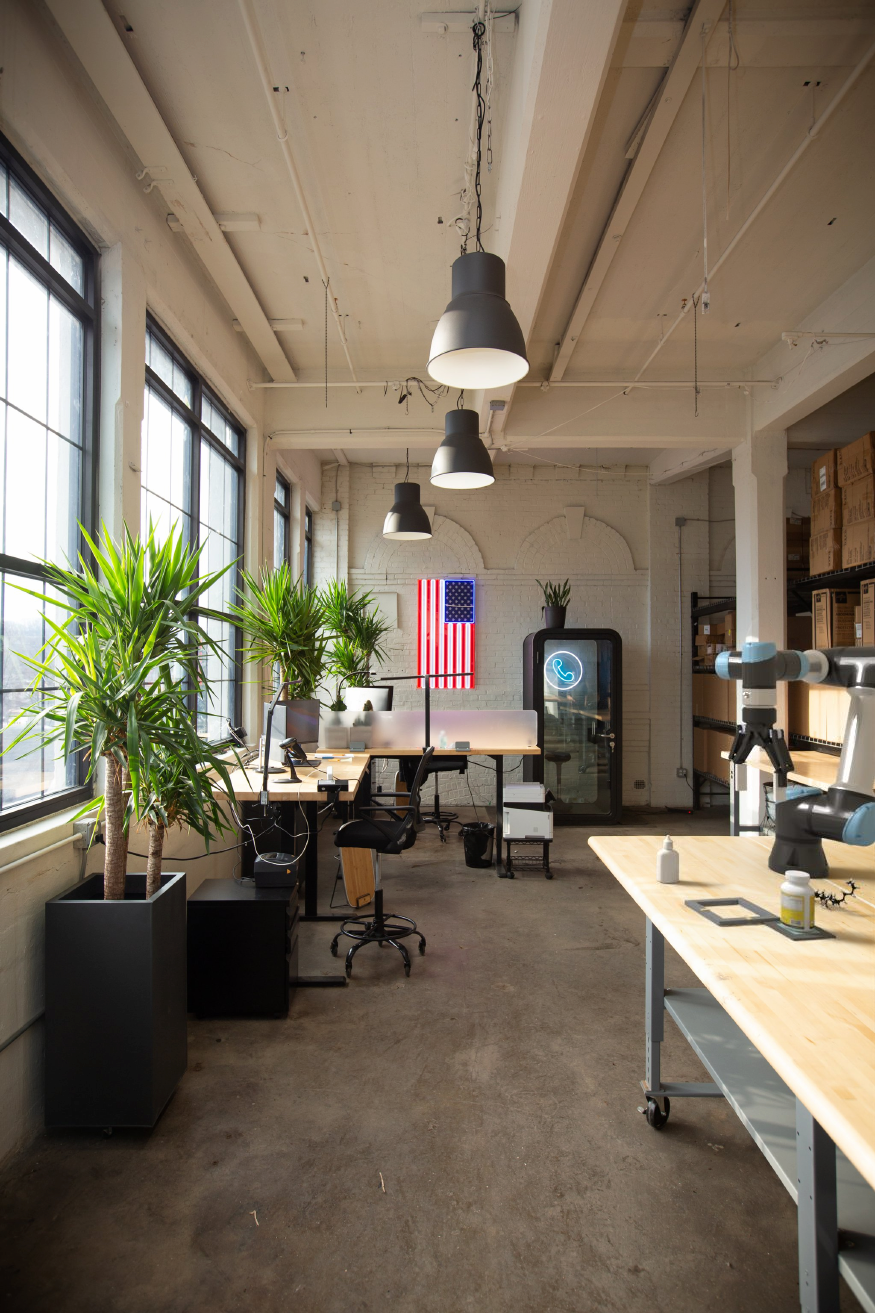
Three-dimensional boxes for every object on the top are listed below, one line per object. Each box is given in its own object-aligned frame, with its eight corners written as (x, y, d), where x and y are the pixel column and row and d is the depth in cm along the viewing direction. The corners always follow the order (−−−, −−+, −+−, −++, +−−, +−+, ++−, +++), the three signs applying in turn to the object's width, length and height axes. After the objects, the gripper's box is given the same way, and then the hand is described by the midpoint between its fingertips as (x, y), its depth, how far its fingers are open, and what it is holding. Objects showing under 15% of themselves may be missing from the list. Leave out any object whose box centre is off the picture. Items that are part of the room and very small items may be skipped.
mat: (802, 920, 157) (802, 918, 157) (836, 937, 147) (836, 935, 147) (762, 923, 155) (762, 921, 155) (793, 940, 146) (793, 938, 146)
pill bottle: (809, 924, 154) (810, 870, 154) (818, 934, 148) (818, 879, 148) (777, 921, 156) (777, 868, 156) (784, 931, 149) (784, 876, 149)
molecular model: (800, 895, 175) (800, 862, 175) (863, 914, 162) (863, 878, 162) (786, 900, 172) (785, 866, 172) (849, 919, 159) (849, 882, 159)
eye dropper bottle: (656, 878, 188) (656, 833, 188) (678, 880, 187) (678, 834, 187) (656, 883, 184) (657, 836, 184) (679, 885, 182) (680, 838, 183)
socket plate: (741, 901, 170) (741, 896, 170) (781, 922, 156) (781, 917, 156) (684, 904, 167) (684, 899, 167) (720, 926, 153) (720, 921, 153)
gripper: (713, 703, 180) (713, 787, 180) (782, 710, 155) (783, 807, 155) (739, 703, 181) (739, 786, 181) (811, 709, 157) (812, 805, 157)
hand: (759, 795), depth 168 cm, fingers open, 13 cm apart
